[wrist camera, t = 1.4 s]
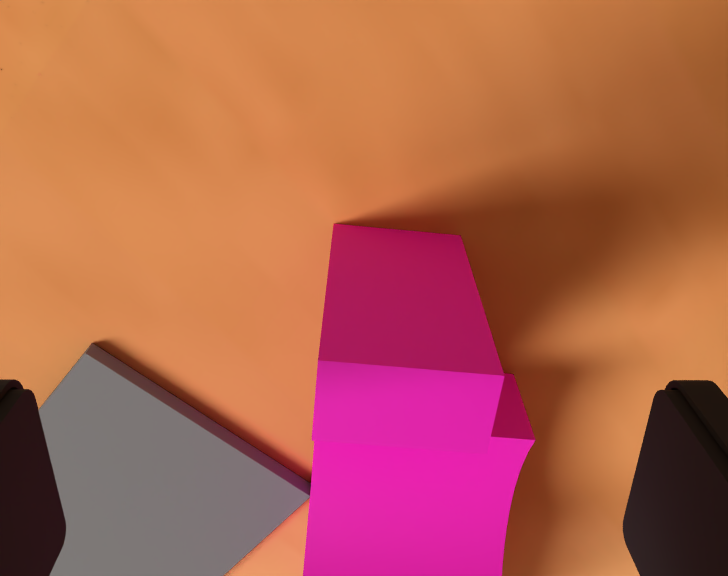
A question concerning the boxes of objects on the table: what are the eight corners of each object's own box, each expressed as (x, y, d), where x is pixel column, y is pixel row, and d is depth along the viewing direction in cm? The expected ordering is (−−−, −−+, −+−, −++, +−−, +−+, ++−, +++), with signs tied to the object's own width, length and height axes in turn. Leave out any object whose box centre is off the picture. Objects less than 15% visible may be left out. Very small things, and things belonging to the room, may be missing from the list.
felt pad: (92, 343, 22) (85, 353, 22) (311, 484, 25) (310, 496, 24) (-126, 614, 28) (-136, 627, 27) (70, 705, 31) (65, 718, 30)
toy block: (461, 587, 27) (492, 796, 21) (304, 576, 27) (284, 784, 21) (542, 240, 21) (626, 386, 14) (333, 221, 20) (318, 360, 14)
